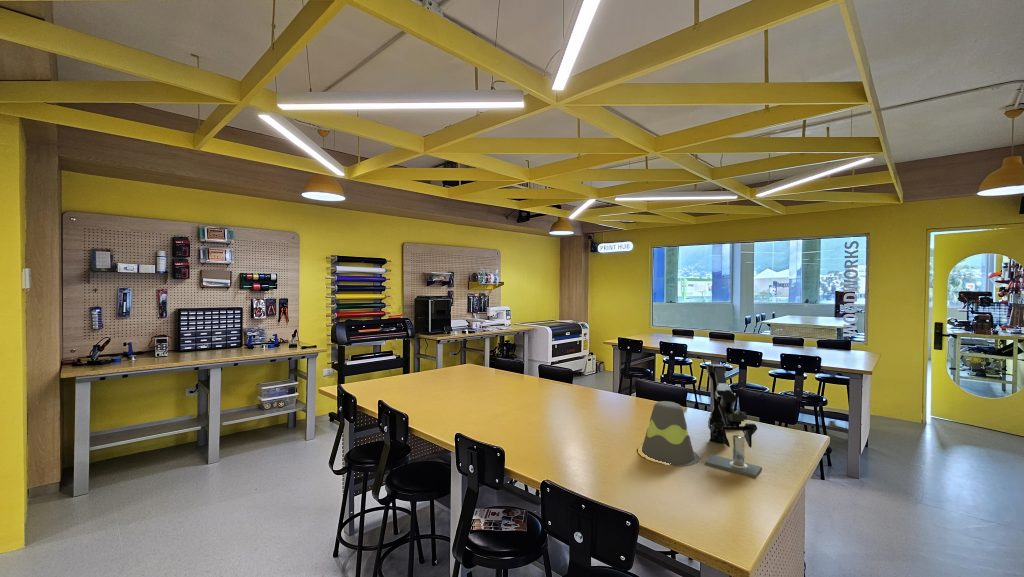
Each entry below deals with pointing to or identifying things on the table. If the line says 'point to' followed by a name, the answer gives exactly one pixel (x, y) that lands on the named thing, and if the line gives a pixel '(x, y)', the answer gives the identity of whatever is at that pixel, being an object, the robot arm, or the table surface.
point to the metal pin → (738, 450)
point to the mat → (733, 466)
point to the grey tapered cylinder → (669, 436)
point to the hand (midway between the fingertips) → (739, 447)
